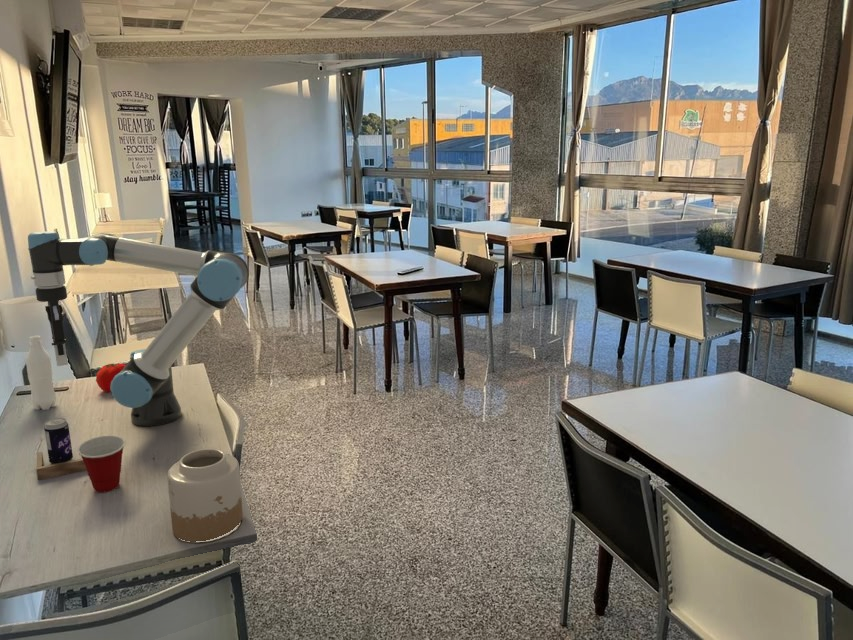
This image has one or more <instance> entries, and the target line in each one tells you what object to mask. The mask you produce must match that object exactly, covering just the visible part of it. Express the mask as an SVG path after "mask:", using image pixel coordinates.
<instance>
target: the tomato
mask: <svg viewBox="0 0 853 640" xmlns="http://www.w3.org/2000/svg"><path fill="white" fill-rule="evenodd" d="M126 365H127V364H125V363H122V361H120V362H119V363H118V362H117V363H108V364H105V365H103V366H102V367H101V369H99V370H98V371H97V373H96V379H95V381H96V383H97V386H98V387H99V388H100V389H101V390H102V391H104V392H105V393H106V392H107V393H111V389H110V386H111V382H112V380H113V378H114V377H115V375H116V374H118V373H120V372H121V371H122V370H123V368H124V367H125V366H126Z"/></svg>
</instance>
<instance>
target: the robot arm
mask: <svg viewBox="0 0 853 640" xmlns="http://www.w3.org/2000/svg"><path fill="white" fill-rule="evenodd" d="M27 244H28V248H27V249H28V251H29V257H30V262H31V263H30V264H31V267H32V275H31V276H30V280H33V282H34V286H35V287H36V288H35V297H36V300H37V301H38V302H41V303H47V305H45V306H44V308H45V309H44V310H45V312H46V313H47V320H48V322H49V325H50V329H51V339H52V342H51V346H53V349H54V354H55V361H56V366H57V367H62V366H68V365H69V363H68V357H67V356H68V355H67V348H66V342H67V339H66V338H65V331H64V324H63V321H64V317H63V306H62V304H59V301H64V300H66V299H68V292H67V286H65V284H66V277H65V270H64V266H91V267H92V266H98V265H99V266H100V265H104V264H105V263H106V261H110V262H116V263H123V264H126V265H127V264H129V265H134V266H140V267H145V268H151V269H156V270H161V271H167V272H171V273H172V272H174V273H179V274H185V275H189V276H196V277H195V279H194V280H193V281H192V282H191V283H190V285H189V289H190V293H189V294H188V296H187V297H186V299H185V300H184V301H183V302H182V303H181V304H180V306H179V307H178V308H177V310H176V311H175V312H174V313H173V315H172V316H171V317H170V318H169V319H168V320H167V322H166V323H165V325H164V326H163V327H162V329H161V330H160V331H159V332H158V333H157V335H156V336H155V337H154V339H152V341H151V342H150V343H149V345H148V346H147V347H146V348H144V349H143V348H142V349H136V350H133V351H132V352H131V353H130V357H129V361H128V362H127V363H126V364H125V365H126V366H125V367H124V368H123V370H122V371H121V372H120V373H118V374H116V375H115V377H114V378H113V380H112V382H111V386H110V389H111V392H110V393H111V396H112V397H113V399H114V400H115V401H116V402H117V403H118V404H120V405H121V406H123V407H125V408H131V412H130V421H131V423H132V424H134V425H135V426H136V425H137V426H139V427H155V426H160V425H165V424H168V423H172V422H174V421H176V420H178V419H179V418H180V417H181V416H182V408H181V405H180V403H179V401H178V399H177V396H176V395H175V392H174V383H173V370H172V365H173V364H174V362H175V361H176V360H177V359H178V358H179V356H180V355H181V354H182V353H183V351H184V350H185V349H186V348H187V346H188V345H189V344H190V343H191V342H192V340H193V339H194V338H195V337H196V335H197V334H198V333H199V332H200V330H201V329H202V328H203V327H204V326H205V324H206V323H207V322H208V321H209V320H210V318H211V317H212V316H213V315H214V313H215V312H216V311H221V310H222V311H223V310H224V309H226V307H227V306H228V304H229V303H230V302H232V300H233V298H234V297H235V296H236V295H237V294H238V292H239V291H240V290H241V289H242V288H243V287H244V286H245V285H246V284H247V282H248V280H249V279H250V278H249V277H250V268H249V266H248V264H247V261H246V260H245V259H244V258H243V257H242V256H240V255H238V254H236V253H233V252H232V253H231V252H225V251H224V252H222V251H216V250H210V249H209V250H207V251H204V252H201V251H197V250H191V249H184V248H182V247H181V248H180V247H175V246H174V247H173V246H170V245H164V244H159V243H158V244H156V243H152V242H146V241H141V240H136V239H130V238H125V237H118V236H116V235H114V234H112V233H108V232H99V233H96V234H93V235H89V236H84V237H81V238H60V236H59V234H58V232H57V231H47V230H46V231H35V232H31V233H29V234H28V235H27ZM180 415H181V416H180ZM178 417H179V418H178ZM177 418H178V419H177ZM175 419H176V420H175Z"/></svg>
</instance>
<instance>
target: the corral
mask: <svg viewBox="0 0 853 640" xmlns="http://www.w3.org/2000/svg"><path fill="white" fill-rule="evenodd" d="M44 463H45V461H44V455H43V451H39V452H37V453H36V469H35V470H36V475H37V480H38V481H39V480H44V479H49V478H53V477H59V476H63V475H68V474H69V475H70V474H74V473H79V472H84V471H87V469H86V466H85V463H84V461H83V459H82V458H78V459H74V460H73V459H71V460H70V461H67V462H62V463H57V464H52V463H51V464H48V465H45V464H44Z"/></svg>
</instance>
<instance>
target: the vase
mask: <svg viewBox="0 0 853 640" xmlns="http://www.w3.org/2000/svg"><path fill="white" fill-rule="evenodd" d="M166 475H167V477H166V478H167V488H168V499H169V509H170V510H169V511H170V518H171V527H172V528H171V529H172V533H173V535H174V537H175V538H177V537H178V538H180V539H182V540H185V541H190V542H196V541H206V540H210V539H214V538H217V537H219V536H222V535H224V534H226V533H228V532H230V531H231V530H233V529H234V528H235V527H236V526H237V525H239V523H240V522H241V520H242V521H243V518H242V516H243V502H242V501H243V500H242V499H243V498H242V489H241V487H242V486H241V472H240V463H239V461H238V459H237V458H236V457H235V456H233V455H231V454H228V453H225V452H224V451H223V450H220V449H217V448H203V449H197V450H193V451H191V452H188V453H186V454H185V455H183V456H182V457H181V458H180V460H178V461H176V463H174V464H172V465H171V466H170V468H169V469H168V471H167V474H166ZM243 517H244V516H243ZM178 538H177V539H178Z"/></svg>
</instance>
